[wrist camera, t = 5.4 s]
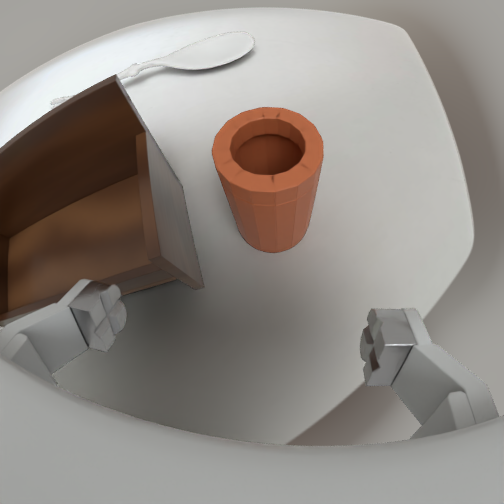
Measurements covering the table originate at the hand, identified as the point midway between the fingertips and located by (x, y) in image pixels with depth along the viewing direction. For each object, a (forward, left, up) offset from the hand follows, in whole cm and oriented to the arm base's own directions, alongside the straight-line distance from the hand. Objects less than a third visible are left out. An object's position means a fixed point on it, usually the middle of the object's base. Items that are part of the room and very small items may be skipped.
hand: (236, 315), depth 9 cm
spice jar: (+9, -3, -13) cm, 16 cm away
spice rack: (+10, +14, -13) cm, 21 cm away
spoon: (+35, +7, -14) cm, 38 cm away
